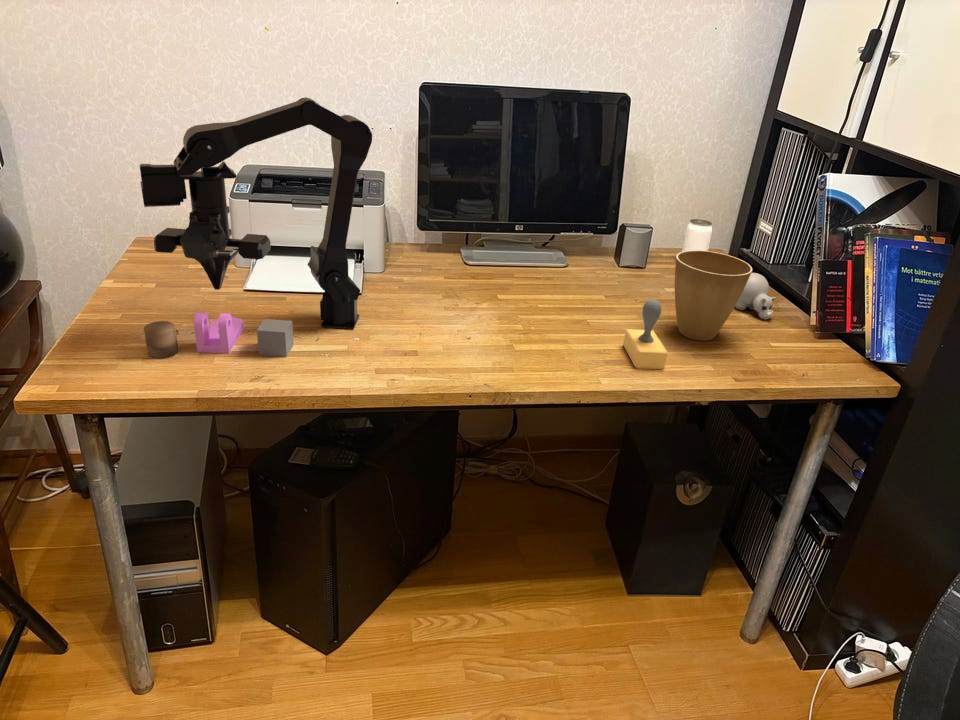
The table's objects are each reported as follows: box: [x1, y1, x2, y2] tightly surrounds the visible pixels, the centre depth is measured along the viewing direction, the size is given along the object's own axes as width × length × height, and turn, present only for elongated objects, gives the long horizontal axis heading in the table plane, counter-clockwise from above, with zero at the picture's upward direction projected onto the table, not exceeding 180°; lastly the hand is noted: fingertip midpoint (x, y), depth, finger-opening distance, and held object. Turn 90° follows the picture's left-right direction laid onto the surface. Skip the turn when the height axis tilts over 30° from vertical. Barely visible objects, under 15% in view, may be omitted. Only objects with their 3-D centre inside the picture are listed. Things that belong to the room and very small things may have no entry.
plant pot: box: [674, 250, 753, 342], centre depth 145 cm, size 15×15×16 cm
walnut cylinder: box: [143, 320, 179, 360], centre depth 124 cm, size 5×5×5 cm
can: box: [681, 218, 713, 252], centre depth 186 cm, size 6×6×12 cm
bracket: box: [193, 311, 245, 354], centre depth 131 cm, size 13×6×7 cm, turn 3°
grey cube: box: [256, 318, 294, 358], centre depth 128 cm, size 5×5×5 cm
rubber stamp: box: [622, 298, 668, 370], centre depth 134 cm, size 10×6×12 cm, turn 3°
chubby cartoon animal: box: [734, 272, 777, 321], centre depth 160 cm, size 7×12×8 cm, turn 18°
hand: (217, 288), depth 128 cm, fingers closed
